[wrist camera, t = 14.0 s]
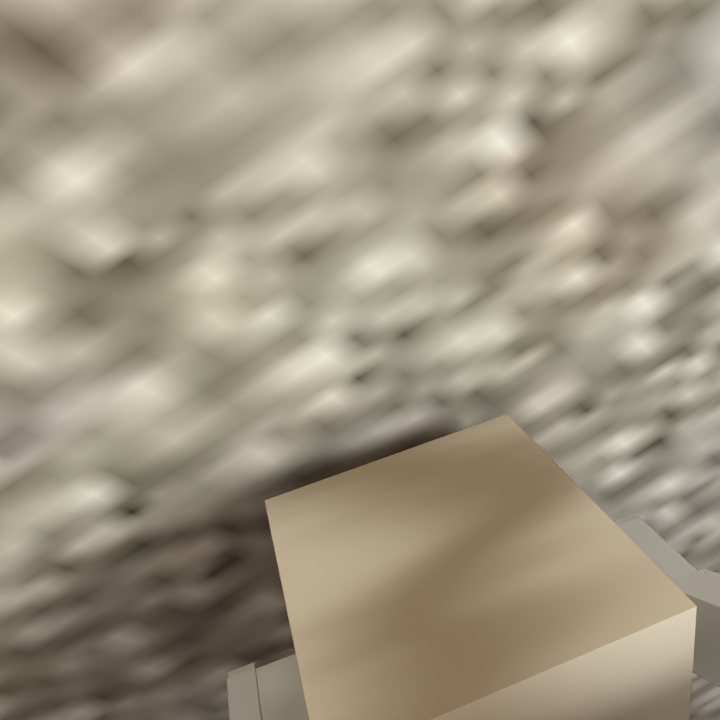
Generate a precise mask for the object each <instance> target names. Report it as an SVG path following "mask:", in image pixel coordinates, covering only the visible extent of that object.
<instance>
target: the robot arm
mask: <svg viewBox="0 0 720 720" xmlns="http://www.w3.org/2000/svg"><path fill="white" fill-rule="evenodd" d="M613 522H614V523H615V524H616V525H617V526H618V527H619V528H620V529H621V530H622V531H623V532H624V533H625V534H626V535H627V536H628V537H629V538H630V539H631V540H632V541H633V542H634V543H635V544H636V545H637V546H638V547H639V548H640V549H641V550H642V551H643V552H644V553H645V554H646V555H647V556H648V557H649V558H650V559H651V560H652V561H653V562H654V563H655V564H656V565H657V566H658V567H659V568H660V569H661V571H662V572H663V573H664V574H665V575H666V576H667V577H668V578H669V579H670V580H671V581H672V582H673V583H674V584H675V585H676V586H677V587H678V588H679V589H680V590H681V591H682V592H683V593H684V594H685V595H686V596H687V597H688V598H689V599H690V600H691V601H692V602H693V603H694V604H695V605H696V606H697V611H696V626H695V642H694V657H693V673H695V674H697V675H699V676H701V677H702V678H704V679H706V680H708V681H710V682H711V683H713V684H715V685H717V686H719V687H720V574H719V573H716V572H713V571H710V570H707V569H701V570H699V571H697V570H696V569H695V568H694V567H692V566H691V565H690V564H689V563H688V562H687V561H686V560H685V559H684V558H683V557H682V556H681V555H680V554H678V553H677V552H676V551H675V550H674V549H673V548H672V547H671V546H670V545H669V544H668V543H667V542H666V541H664V540H663V539H662V538H661V537H660V536H659V535H658V534H657V533H656V532H655V531H654V530H653V529H652V528H651V527H649V526H648V525H647V524H646V523H645V522H644V521H643V520H642V519H641V518H640V517H639V516H637V515H634V514H630V515H627V516H625V517H622V518H619V519H617V520H614V521H613ZM227 693H228V706H229V719H230V720H309V715H308V711H307V706H306V701H305V696H304V691H303V686H302V681H301V676H300V671H299V667H298V662H297V657H296V652H295V647H294V648H291V649H288V650H285V651H283V652H280V653H277V654H274V655H272V656H269V657H266V658H263V659H261V660H258V661H255V662H253V663H250V664H248V665H245V666H242V667H240V668H237V669H234V670H232V671H229V672H228V676H227Z"/></svg>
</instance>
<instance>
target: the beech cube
mask: <svg viewBox="0 0 720 720" xmlns="http://www.w3.org/2000/svg"><path fill="white" fill-rule="evenodd" d="M265 505H266V510H267V515H268V520H269V525H270V530H271V535H272V540H273V544H274V549H275V554H276V559H277V564H278V569H279V574H280V579H281V583H282V588H283V593H284V598H285V603H286V608H287V613H288V618H289V623H290V627H291V632H292V637H293V642H294V647H295V652H296V657H297V662H298V667H299V671H300V676H301V681H302V686H303V691H304V696H305V701H306V706H307V711H308V715H309V720H689V719H690V704H691V688H692V673H693V657H694V642H695V626H696V611H697V606H696V605H695V604H694V603H693V602H692V601H691V600H690V599H689V598H688V597H687V596H686V595H685V594H684V593H683V592H682V591H681V590H680V589H679V588H678V587H677V586H676V585H675V584H674V583H673V582H672V581H671V580H670V579H669V578H668V577H667V576H666V575H665V574H664V573H663V572H662V571H661V569H660V568H659V567H658V566H657V565H656V564H655V563H654V562H653V561H652V560H651V559H650V558H649V557H648V556H647V555H646V554H645V553H644V552H643V551H642V550H641V549H640V548H639V547H638V546H637V545H636V544H635V543H634V542H633V541H632V540H631V539H630V538H629V537H628V536H627V535H626V534H625V533H624V532H623V531H622V530H621V529H620V528H619V527H618V526H617V525H616V524H615V523H614V522H613V521H612V520H611V519H610V518H609V517H608V516H607V515H606V514H605V513H604V512H603V511H602V510H601V509H600V508H599V507H598V506H597V505H596V504H595V503H594V502H593V501H592V500H591V499H590V498H589V497H588V496H587V495H586V494H585V493H584V492H583V490H582V489H581V488H580V487H579V486H578V485H577V484H576V483H575V482H574V481H573V480H572V479H571V478H570V477H569V476H568V475H567V474H566V473H565V472H564V471H563V470H562V469H561V468H560V467H559V466H558V465H557V464H556V463H555V462H554V461H553V460H552V459H551V458H550V457H549V456H548V455H547V454H546V453H545V452H544V451H543V450H542V449H541V448H540V447H539V446H538V445H537V444H536V443H535V442H534V441H533V440H532V439H531V438H530V437H529V436H528V435H527V434H526V433H525V432H524V431H523V430H522V429H521V428H520V427H519V426H518V425H517V424H516V423H515V422H514V421H513V420H512V419H511V418H510V417H509V416H508V415H507V414H505V415H502V416H500V417H497V418H494V419H491V420H488V421H486V422H483V423H480V424H477V425H474V426H472V427H469V428H466V429H463V430H460V431H458V432H455V433H452V434H449V435H446V436H444V437H441V438H438V439H435V440H432V441H430V442H427V443H424V444H421V445H418V446H416V447H413V448H410V449H407V450H404V451H402V452H399V453H396V454H393V455H390V456H388V457H385V458H382V459H379V460H376V461H374V462H371V463H368V464H365V465H362V466H360V467H357V468H354V469H351V470H348V471H346V472H343V473H340V474H337V475H334V476H332V477H329V478H326V479H323V480H320V481H318V482H315V483H312V484H309V485H306V486H304V487H301V488H298V489H295V490H292V491H290V492H287V493H284V494H281V495H278V496H276V497H273V498H270V499H267V500H265Z"/></svg>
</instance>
